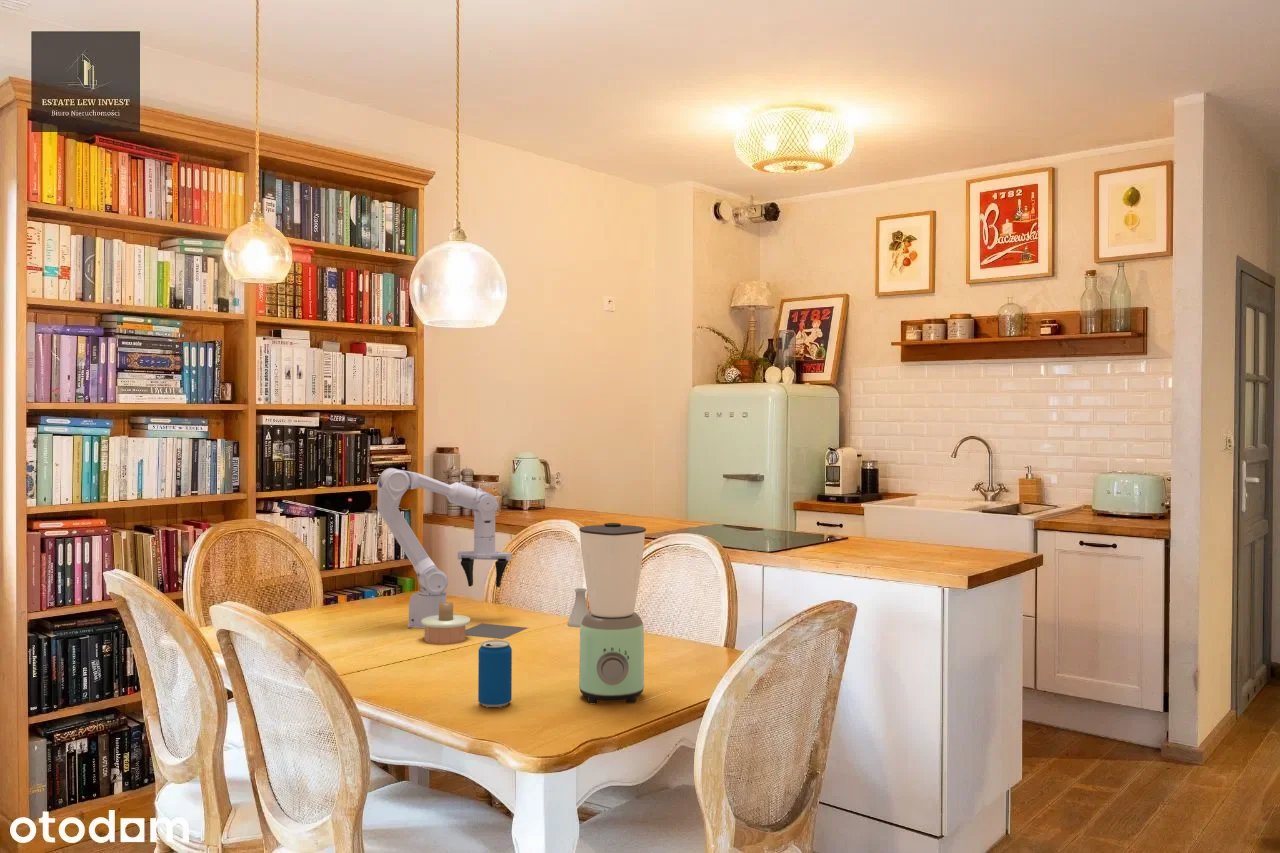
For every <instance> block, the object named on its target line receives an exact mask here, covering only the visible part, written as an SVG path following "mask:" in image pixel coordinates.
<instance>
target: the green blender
mask: <svg viewBox="0 0 1280 853" xmlns="http://www.w3.org/2000/svg"><path fill="white" fill-rule="evenodd" d="M646 531H647V528H646V527H643V526H639V525H630V524H627V525H626V524H622V523H619V522H607V523H604V524H596V525H587V526H581V527H579V533H580V534H579V536H580V550H581V557H582V564H583V569H584V570H583V572H584V578H585V585H586V589H587V590H586V593H587V599H588V606H589V613H587V614H586V615H585V617H584V618H583V620H582V622H581V627H579V667H578V668H579V675H578V676H579V678H578V680H579V682H578V687H579V691H580V693H581V694H582V695H583V696H585V697H586V698H587V703H588V702H589V703H588V704H590V703H595V704H598V703H599V701H605V702H606V701H609V702H614V701H615V702H616V701H626V703H627V704H635V703H636V702H637V697H639V696H640V695H642V693H643V692H644V688H645V630H644V622H643V620H642V617H641V616H640V615H639V614H638V613H637V612H635V608H636V602H637V601H636V600H637V595H638V589H639V584H640V576H641V570H642V562H643V556H644V550H645V549H644V548H645V538H646V536H645V535H646ZM597 702H598V703H597Z"/></svg>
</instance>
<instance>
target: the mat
mask: <svg viewBox="0 0 1280 853" xmlns="http://www.w3.org/2000/svg"><path fill="white" fill-rule="evenodd" d="M527 629H528V627H525V626H524V627H523V626H514V625H504V624H493V623H479V624H477V625H474V626H471V627H469V628H466V637H467V636H468V637H469V636H470V637H478V638H488V639H496V640H500V639H501V640H504V639H506V638H508V637H511V636H512V635H513V636H514V635H516V634H518V633H519V632H522V631H524V630H527Z"/></svg>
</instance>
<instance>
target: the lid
mask: <svg viewBox="0 0 1280 853" xmlns="http://www.w3.org/2000/svg"><path fill="white" fill-rule="evenodd" d="M470 623H471V618H470V617H469V616H468V615H462V614H454V602H450V601H446V602H442V603H439V615H435V616H429V617H426V618H423V619H422V620H421V624H422V625H424V626H427V627H434V628H450V627H459V626H464V625H469V624H470Z"/></svg>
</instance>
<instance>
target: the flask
mask: <svg viewBox="0 0 1280 853" xmlns="http://www.w3.org/2000/svg"><path fill="white" fill-rule="evenodd" d="M574 592H575V598H574V603H573V606H572V610H571V612H570V615H569V618H568V622H567V626H568V627H569V628H570V627H571V628H580V627H581V622H582V620H583V618H584V617H585V615H586V614H587V613H589V612H590V609H589V608H588V604H587V598H586V593H587V588H586V587H585V588H583V587H579V588H578V587H576V588H574Z"/></svg>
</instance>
